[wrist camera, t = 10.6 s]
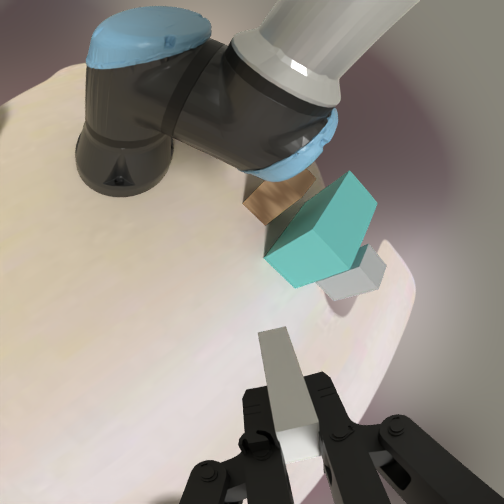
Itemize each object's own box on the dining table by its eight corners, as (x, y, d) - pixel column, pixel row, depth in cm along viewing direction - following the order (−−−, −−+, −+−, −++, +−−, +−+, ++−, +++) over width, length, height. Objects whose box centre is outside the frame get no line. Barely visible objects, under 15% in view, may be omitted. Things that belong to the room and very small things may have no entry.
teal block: (263, 258, 41) (312, 229, 31) (305, 202, 49) (349, 170, 39) (294, 288, 42) (349, 269, 32) (330, 229, 50) (377, 203, 40)
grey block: (315, 282, 45) (359, 266, 36) (326, 261, 47) (368, 243, 39) (333, 301, 45) (378, 289, 37) (344, 280, 48) (386, 265, 39)
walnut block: (242, 203, 43) (274, 170, 34) (259, 186, 45) (291, 153, 37) (265, 225, 43) (302, 197, 35) (280, 207, 46) (316, 178, 38)
